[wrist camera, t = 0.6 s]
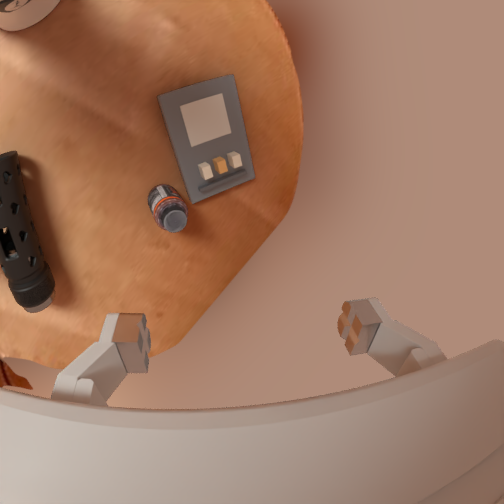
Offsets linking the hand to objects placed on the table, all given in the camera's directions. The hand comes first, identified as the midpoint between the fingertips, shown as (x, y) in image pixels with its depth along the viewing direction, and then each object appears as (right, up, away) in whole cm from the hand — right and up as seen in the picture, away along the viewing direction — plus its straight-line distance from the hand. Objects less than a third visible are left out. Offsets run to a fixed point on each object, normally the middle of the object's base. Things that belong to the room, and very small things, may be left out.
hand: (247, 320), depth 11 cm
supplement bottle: (-17, +13, +43) cm, 48 cm away
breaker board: (-8, +24, +40) cm, 48 cm away
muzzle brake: (-43, +8, +30) cm, 53 cm away
